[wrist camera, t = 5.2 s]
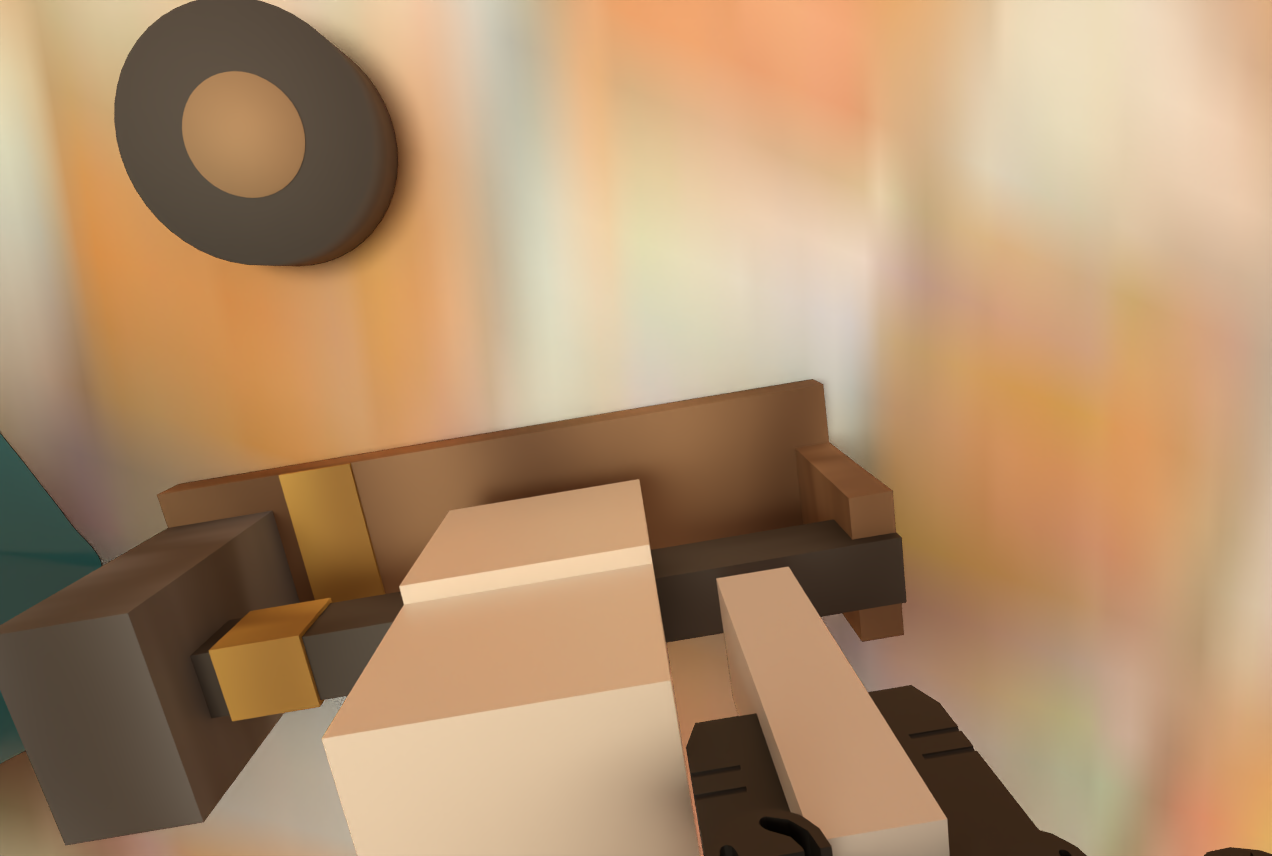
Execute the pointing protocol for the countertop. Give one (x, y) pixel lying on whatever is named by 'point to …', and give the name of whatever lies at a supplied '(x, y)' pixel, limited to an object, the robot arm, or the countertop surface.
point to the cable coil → (254, 135)
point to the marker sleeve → (521, 693)
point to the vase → (32, 557)
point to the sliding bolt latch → (376, 566)
